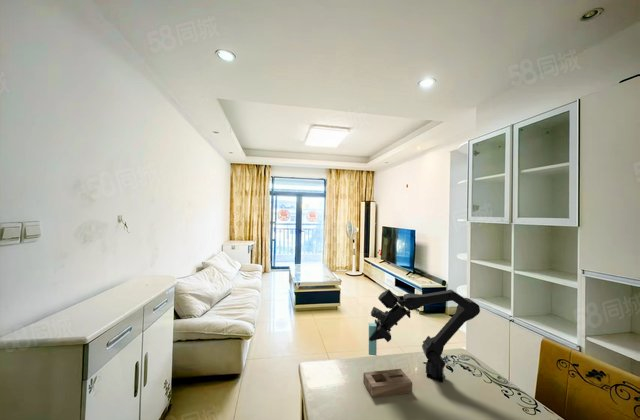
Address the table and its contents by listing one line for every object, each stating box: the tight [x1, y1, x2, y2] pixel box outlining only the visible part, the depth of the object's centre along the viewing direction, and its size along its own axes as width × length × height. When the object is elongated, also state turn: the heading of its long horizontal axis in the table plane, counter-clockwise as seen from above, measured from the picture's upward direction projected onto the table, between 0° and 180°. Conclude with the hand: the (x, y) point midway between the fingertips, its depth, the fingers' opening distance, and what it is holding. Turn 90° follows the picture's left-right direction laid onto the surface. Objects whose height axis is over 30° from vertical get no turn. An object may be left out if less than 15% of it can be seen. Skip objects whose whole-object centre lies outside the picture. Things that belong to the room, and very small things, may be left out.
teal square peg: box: [368, 322, 378, 356], centre depth 112 cm, size 3×3×13 cm
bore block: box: [363, 368, 413, 398], centre depth 99 cm, size 9×17×4 cm, turn 101°
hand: (369, 338), depth 112 cm, fingers closed on teal square peg, 3 cm apart
